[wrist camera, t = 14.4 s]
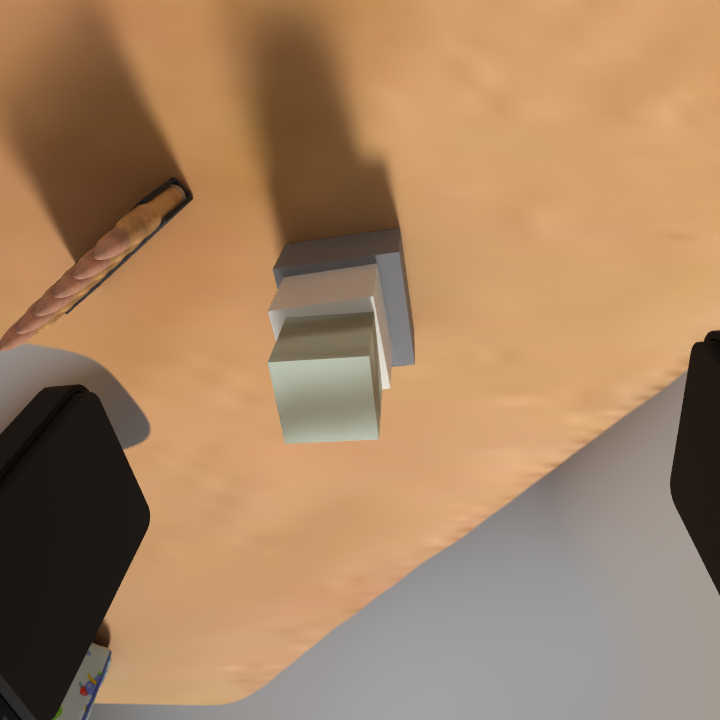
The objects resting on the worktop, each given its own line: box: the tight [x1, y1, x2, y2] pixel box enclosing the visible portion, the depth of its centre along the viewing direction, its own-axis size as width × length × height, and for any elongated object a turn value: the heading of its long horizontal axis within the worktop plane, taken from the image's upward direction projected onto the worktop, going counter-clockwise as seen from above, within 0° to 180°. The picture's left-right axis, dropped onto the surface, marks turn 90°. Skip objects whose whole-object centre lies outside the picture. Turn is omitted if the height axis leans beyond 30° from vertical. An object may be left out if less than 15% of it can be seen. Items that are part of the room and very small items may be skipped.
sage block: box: [268, 312, 382, 444], centre depth 33 cm, size 5×5×5 cm
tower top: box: [268, 263, 392, 389], centre depth 37 cm, size 6×6×5 cm
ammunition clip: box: [0, 177, 193, 351], centre depth 37 cm, size 11×2×12 cm, turn 129°
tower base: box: [273, 228, 415, 367], centre depth 41 cm, size 8×8×5 cm
